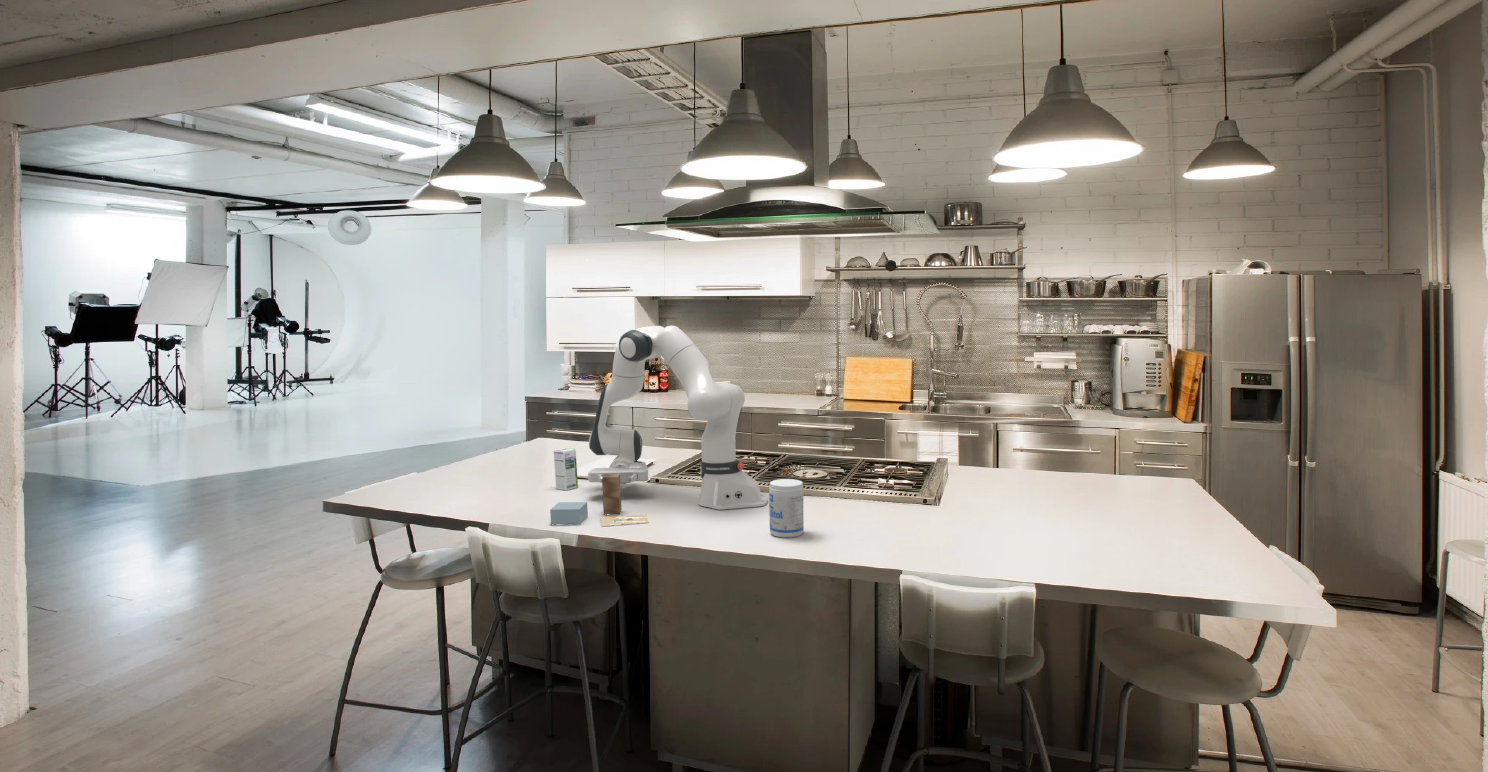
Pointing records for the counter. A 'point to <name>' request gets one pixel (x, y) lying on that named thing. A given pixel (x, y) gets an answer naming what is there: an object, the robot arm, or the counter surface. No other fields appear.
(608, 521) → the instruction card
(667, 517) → the counter surface
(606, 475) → the block
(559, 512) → the brick
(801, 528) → the supplement tub
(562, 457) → the syrup box
